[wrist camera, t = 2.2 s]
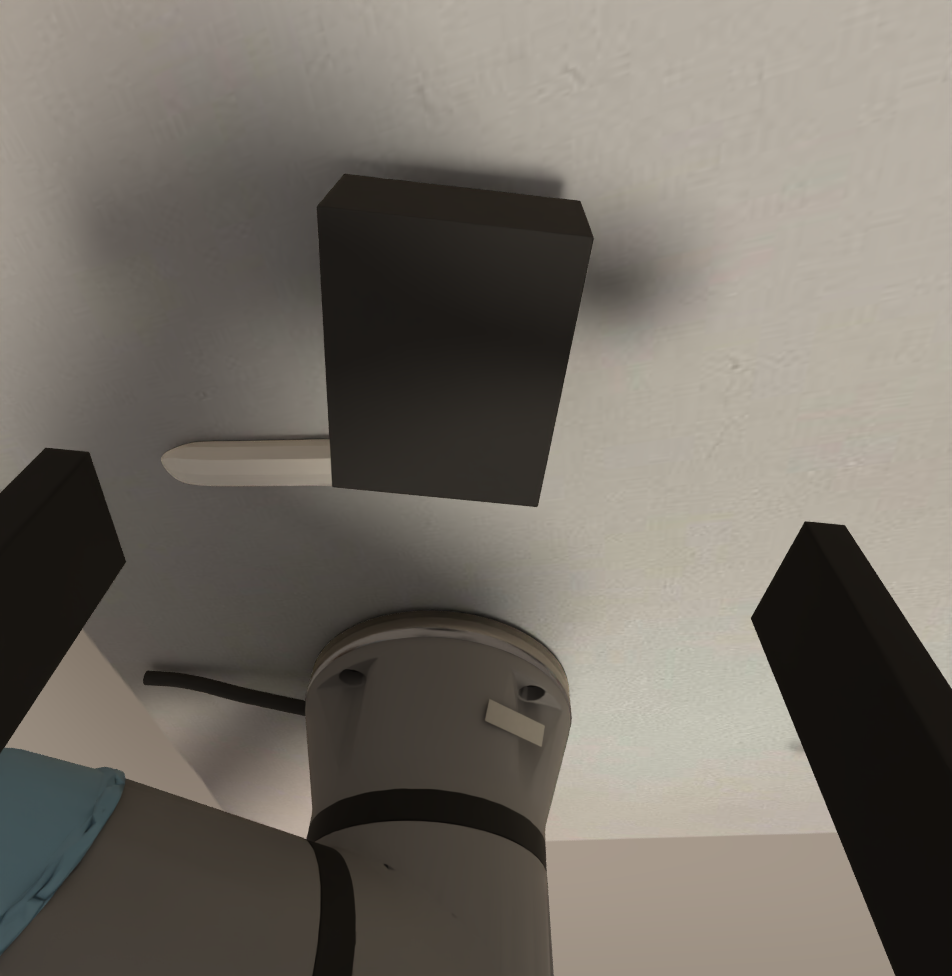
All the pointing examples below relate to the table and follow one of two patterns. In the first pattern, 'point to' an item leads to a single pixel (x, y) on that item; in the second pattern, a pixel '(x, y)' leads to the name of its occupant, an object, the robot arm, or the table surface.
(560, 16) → the table surface
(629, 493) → the table surface
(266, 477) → the pen
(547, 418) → the dark grey rectangular block
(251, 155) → the table surface
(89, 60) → the table surface
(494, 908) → the robot arm
